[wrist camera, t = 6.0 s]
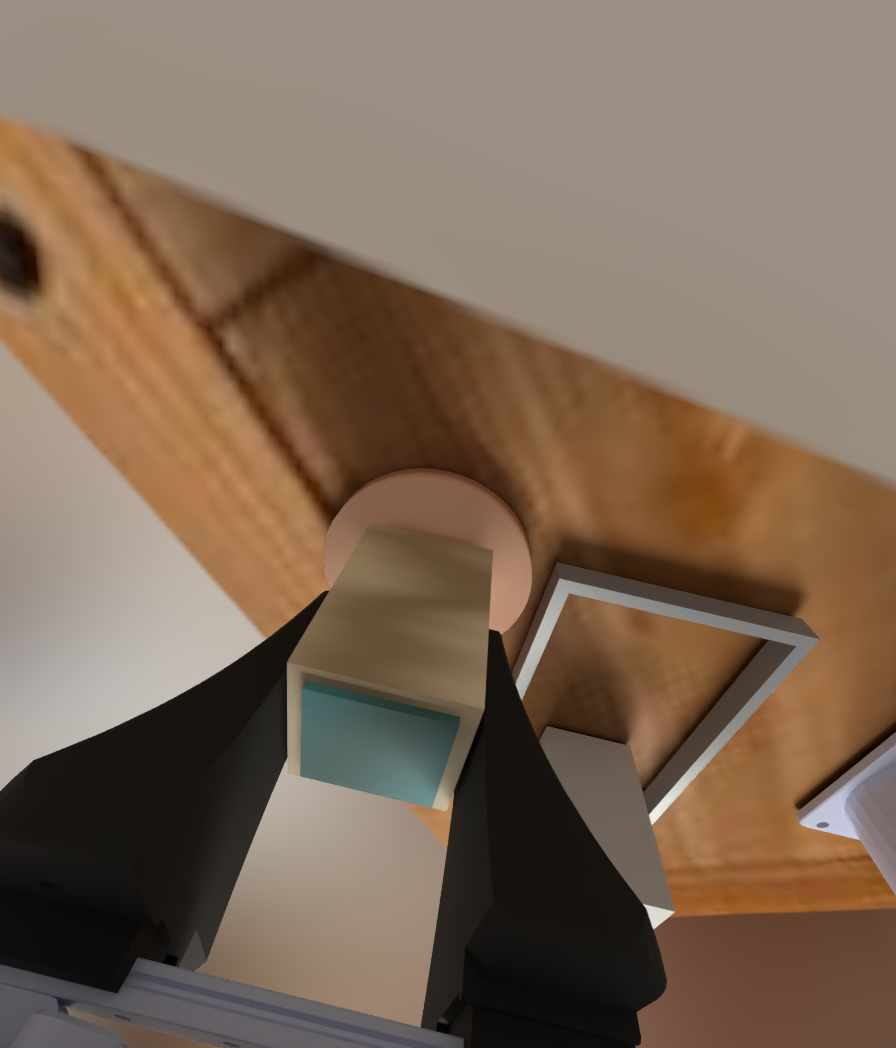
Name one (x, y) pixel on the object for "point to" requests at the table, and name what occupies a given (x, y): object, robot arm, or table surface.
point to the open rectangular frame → (757, 679)
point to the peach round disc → (440, 528)
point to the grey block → (612, 810)
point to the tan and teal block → (393, 669)
